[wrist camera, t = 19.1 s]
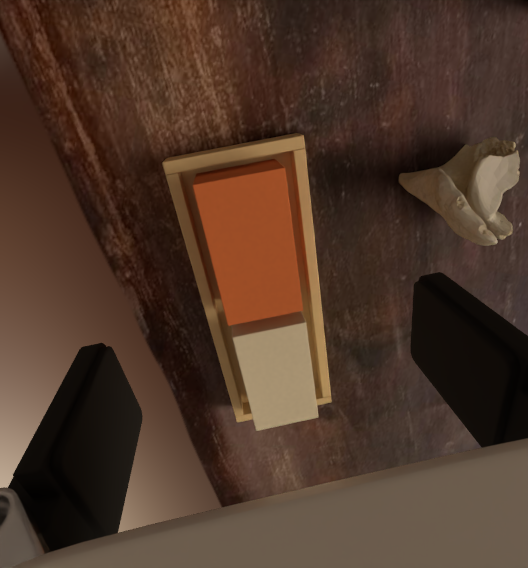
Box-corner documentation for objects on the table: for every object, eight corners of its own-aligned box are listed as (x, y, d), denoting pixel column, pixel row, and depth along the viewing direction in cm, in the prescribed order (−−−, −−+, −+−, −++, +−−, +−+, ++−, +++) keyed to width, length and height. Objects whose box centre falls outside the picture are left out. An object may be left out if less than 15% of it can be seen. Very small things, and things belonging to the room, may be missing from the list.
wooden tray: (165, 158, 24) (161, 162, 22) (297, 132, 24) (304, 135, 22) (235, 405, 34) (237, 422, 33) (325, 386, 35) (331, 402, 33)
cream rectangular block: (230, 309, 29) (232, 337, 25) (295, 296, 29) (306, 322, 25) (251, 396, 33) (256, 431, 30) (308, 384, 34) (318, 417, 30)
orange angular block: (195, 173, 24) (192, 184, 20) (275, 158, 24) (285, 167, 20) (226, 298, 28) (227, 326, 25) (292, 285, 28) (303, 310, 25)
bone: (547, 161, 25) (595, 261, 19) (465, 214, 30) (483, 307, 24) (466, 87, 23) (492, 173, 17) (391, 158, 28) (390, 245, 22)
